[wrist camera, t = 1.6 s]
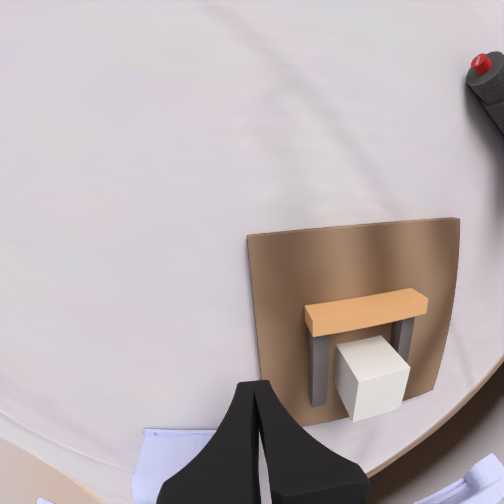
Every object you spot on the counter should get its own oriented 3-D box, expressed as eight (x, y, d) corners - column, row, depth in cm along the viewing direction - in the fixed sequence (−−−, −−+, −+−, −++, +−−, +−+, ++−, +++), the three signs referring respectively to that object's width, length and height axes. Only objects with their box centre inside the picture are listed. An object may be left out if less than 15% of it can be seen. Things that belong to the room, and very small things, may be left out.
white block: (333, 383, 21) (352, 422, 17) (336, 344, 21) (358, 381, 16) (375, 373, 22) (400, 407, 17) (381, 335, 21) (410, 367, 16)
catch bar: (304, 320, 20) (312, 337, 17) (304, 305, 20) (312, 320, 17) (409, 301, 20) (426, 313, 18) (411, 287, 20) (428, 298, 17)
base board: (266, 424, 23) (268, 442, 21) (246, 234, 19) (248, 241, 17) (428, 384, 24) (439, 397, 21) (452, 217, 20) (471, 220, 18)
